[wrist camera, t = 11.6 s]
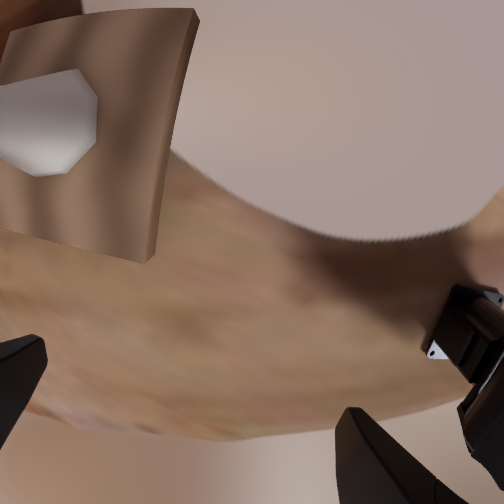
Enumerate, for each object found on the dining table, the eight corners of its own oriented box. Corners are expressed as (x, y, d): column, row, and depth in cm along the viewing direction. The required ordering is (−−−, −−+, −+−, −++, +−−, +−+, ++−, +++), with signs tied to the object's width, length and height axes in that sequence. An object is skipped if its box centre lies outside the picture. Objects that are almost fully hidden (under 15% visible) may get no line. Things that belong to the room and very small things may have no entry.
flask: (33, 194, 17) (-79, 226, 8) (14, 104, 15) (-91, 98, 6) (114, 149, 16) (-11, 150, 7) (89, 52, 15) (-17, 2, 5)
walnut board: (200, 21, 16) (193, 8, 14) (154, 254, 20) (144, 263, 18) (24, 36, 15) (10, 31, 14) (-4, 217, 20) (-20, 222, 18)
